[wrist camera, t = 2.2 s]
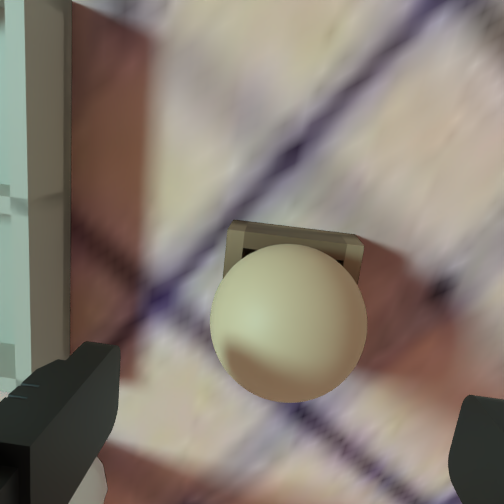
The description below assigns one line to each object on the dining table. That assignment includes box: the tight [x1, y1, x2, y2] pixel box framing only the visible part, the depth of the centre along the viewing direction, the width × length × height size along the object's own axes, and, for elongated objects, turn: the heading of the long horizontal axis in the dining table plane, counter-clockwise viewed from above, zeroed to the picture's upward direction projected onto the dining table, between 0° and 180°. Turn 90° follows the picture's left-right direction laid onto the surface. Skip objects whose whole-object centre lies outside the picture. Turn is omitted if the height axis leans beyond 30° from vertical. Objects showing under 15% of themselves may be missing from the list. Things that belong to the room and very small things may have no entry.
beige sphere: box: [210, 244, 367, 403], centre depth 14 cm, size 5×5×5 cm
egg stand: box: [215, 220, 364, 353], centre depth 16 cm, size 5×5×2 cm
